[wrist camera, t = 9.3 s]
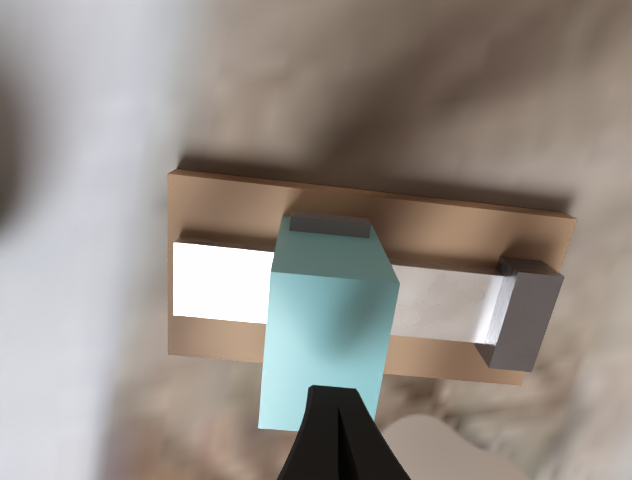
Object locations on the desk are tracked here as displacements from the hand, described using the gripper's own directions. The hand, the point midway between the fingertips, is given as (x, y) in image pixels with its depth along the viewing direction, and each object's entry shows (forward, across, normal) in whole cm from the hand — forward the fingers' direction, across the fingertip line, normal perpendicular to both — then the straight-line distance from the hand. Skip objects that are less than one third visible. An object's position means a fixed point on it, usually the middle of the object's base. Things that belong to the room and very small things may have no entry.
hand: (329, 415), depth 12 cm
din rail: (+8, -2, 0) cm, 8 cm away
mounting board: (+9, -2, 0) cm, 10 cm away
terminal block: (+8, 0, 0) cm, 8 cm away
